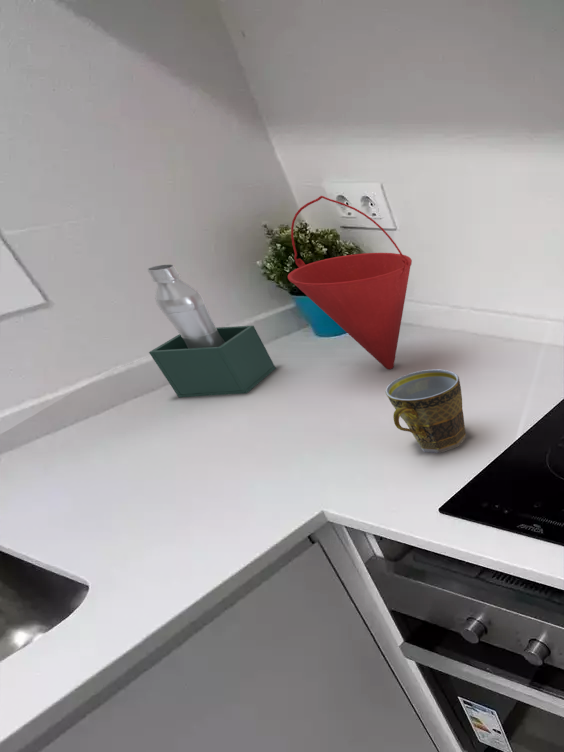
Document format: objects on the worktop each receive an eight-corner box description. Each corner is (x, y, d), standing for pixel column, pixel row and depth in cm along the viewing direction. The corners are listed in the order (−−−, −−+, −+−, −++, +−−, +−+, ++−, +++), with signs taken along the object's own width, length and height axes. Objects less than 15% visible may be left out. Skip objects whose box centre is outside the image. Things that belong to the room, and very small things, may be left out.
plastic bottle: (224, 389, 100) (155, 274, 88) (197, 385, 102) (126, 271, 89) (255, 374, 105) (194, 263, 92) (229, 370, 107) (165, 261, 94)
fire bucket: (464, 352, 113) (417, 184, 94) (415, 395, 98) (347, 206, 79) (369, 348, 116) (304, 185, 97) (307, 390, 101) (216, 206, 82)
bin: (180, 399, 99) (148, 352, 94) (214, 374, 108) (187, 329, 102) (248, 395, 100) (220, 347, 94) (277, 370, 109) (253, 325, 103)
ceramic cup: (430, 425, 90) (410, 367, 83) (487, 429, 88) (471, 370, 82) (384, 470, 80) (356, 408, 73) (447, 475, 78) (425, 412, 72)
